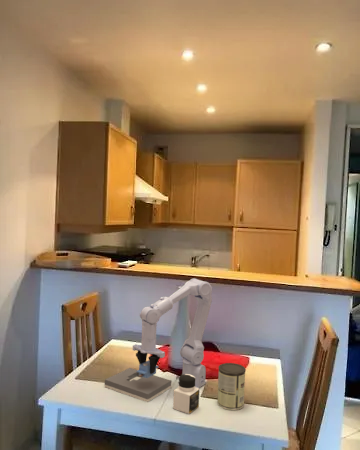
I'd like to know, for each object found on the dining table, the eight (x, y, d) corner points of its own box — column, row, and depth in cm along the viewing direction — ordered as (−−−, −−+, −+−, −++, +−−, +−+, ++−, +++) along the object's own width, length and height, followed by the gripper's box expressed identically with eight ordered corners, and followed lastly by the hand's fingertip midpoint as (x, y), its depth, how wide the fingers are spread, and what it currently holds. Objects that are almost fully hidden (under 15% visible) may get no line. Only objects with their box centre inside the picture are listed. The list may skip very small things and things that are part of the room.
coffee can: (218, 396, 164) (220, 361, 163) (244, 400, 161) (246, 364, 161) (215, 408, 154) (216, 371, 153) (242, 412, 151) (244, 374, 151)
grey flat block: (171, 387, 170) (171, 380, 170) (147, 402, 156) (148, 394, 156) (129, 374, 181) (129, 367, 181) (104, 386, 168) (104, 379, 168)
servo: (158, 372, 166) (158, 360, 166) (143, 380, 158) (144, 367, 158) (150, 369, 169) (150, 358, 168) (135, 377, 160) (136, 365, 160)
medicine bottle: (189, 414, 148) (190, 381, 148) (172, 408, 152) (174, 376, 151) (199, 407, 154) (200, 375, 154) (182, 401, 158) (184, 370, 157)
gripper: (128, 336, 164) (127, 370, 164) (157, 344, 156) (156, 379, 156) (139, 332, 170) (138, 364, 170) (168, 339, 162) (167, 373, 162)
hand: (147, 371), depth 164 cm, fingers closed on servo, 4 cm apart
